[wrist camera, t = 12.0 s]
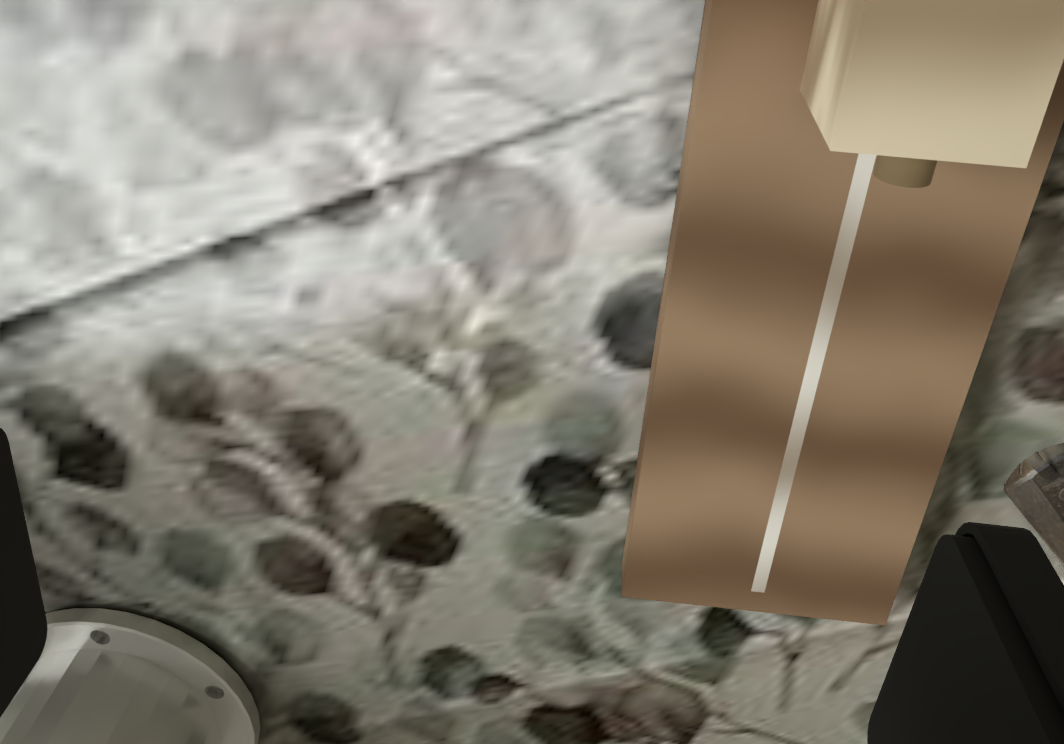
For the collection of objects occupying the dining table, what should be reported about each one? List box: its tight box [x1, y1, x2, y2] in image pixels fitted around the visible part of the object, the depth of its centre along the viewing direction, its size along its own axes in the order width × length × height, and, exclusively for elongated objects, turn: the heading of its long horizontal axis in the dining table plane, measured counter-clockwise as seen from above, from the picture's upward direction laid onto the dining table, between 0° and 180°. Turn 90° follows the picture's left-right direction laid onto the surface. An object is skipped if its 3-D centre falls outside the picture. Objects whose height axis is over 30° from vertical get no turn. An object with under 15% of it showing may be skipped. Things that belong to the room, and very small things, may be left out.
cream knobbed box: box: [800, 0, 1064, 188], centre depth 23 cm, size 8×4×5 cm, turn 176°
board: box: [622, 0, 1064, 625], centre depth 31 cm, size 28×10×2 cm, turn 176°
